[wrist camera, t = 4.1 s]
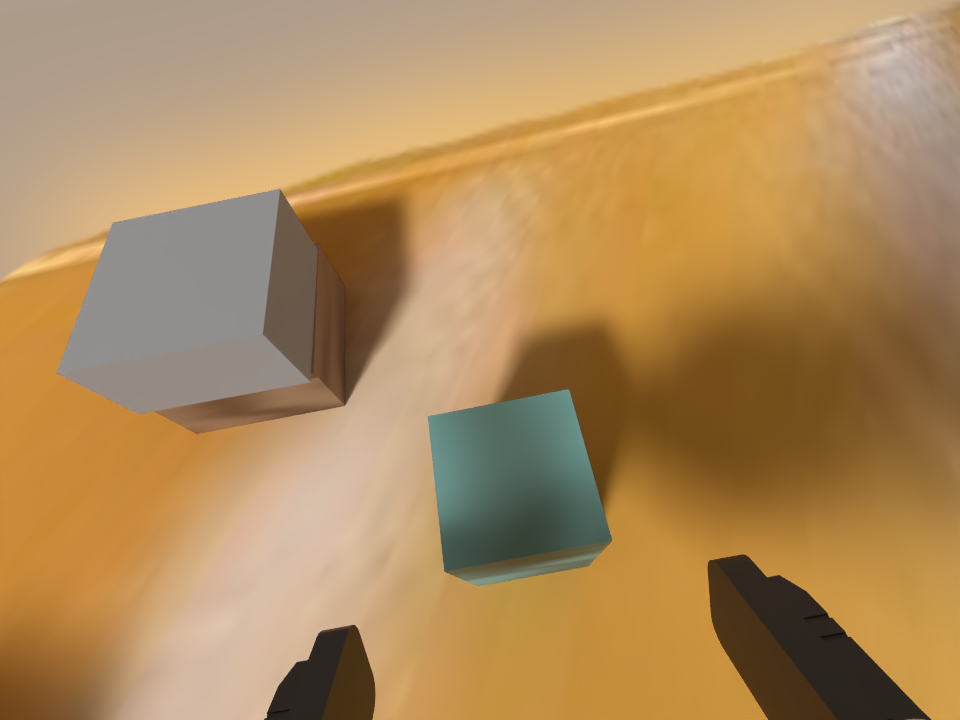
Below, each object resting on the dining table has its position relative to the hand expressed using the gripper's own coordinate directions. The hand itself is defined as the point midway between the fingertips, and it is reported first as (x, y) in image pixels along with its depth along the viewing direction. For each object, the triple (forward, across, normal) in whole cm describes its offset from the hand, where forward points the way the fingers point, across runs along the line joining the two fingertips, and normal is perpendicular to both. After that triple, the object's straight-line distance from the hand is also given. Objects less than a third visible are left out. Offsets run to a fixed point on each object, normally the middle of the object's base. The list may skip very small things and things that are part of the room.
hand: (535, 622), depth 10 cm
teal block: (+9, 0, +4) cm, 10 cm away
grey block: (+14, +12, -7) cm, 20 cm away
